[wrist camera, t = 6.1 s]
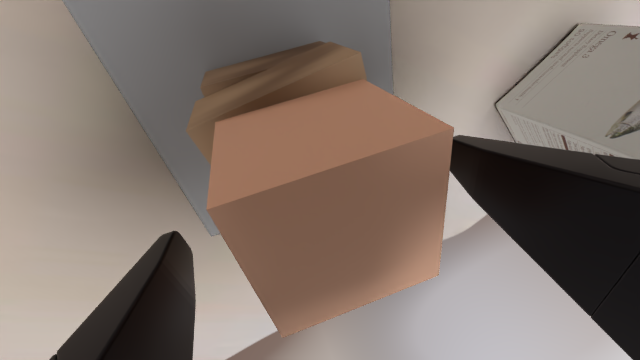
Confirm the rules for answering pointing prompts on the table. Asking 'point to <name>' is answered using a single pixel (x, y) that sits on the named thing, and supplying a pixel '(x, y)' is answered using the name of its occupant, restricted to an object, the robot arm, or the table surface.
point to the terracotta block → (331, 200)
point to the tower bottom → (248, 68)
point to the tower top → (275, 88)
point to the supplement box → (582, 95)
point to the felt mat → (214, 58)
